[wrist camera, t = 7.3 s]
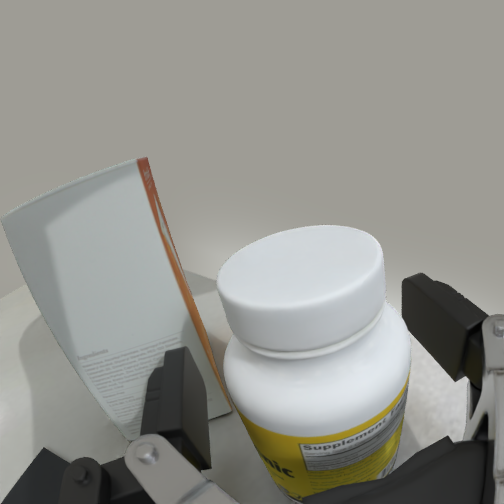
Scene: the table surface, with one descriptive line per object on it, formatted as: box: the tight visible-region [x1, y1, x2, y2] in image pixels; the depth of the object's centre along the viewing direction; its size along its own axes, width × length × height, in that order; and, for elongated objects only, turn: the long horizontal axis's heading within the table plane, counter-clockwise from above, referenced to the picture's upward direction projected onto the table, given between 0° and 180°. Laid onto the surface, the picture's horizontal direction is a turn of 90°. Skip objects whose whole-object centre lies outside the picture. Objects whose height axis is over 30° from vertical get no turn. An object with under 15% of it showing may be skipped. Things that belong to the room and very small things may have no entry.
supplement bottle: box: [217, 225, 411, 504], centre depth 9 cm, size 5×5×10 cm
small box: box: [1, 157, 232, 441], centre depth 16 cm, size 8×6×13 cm
